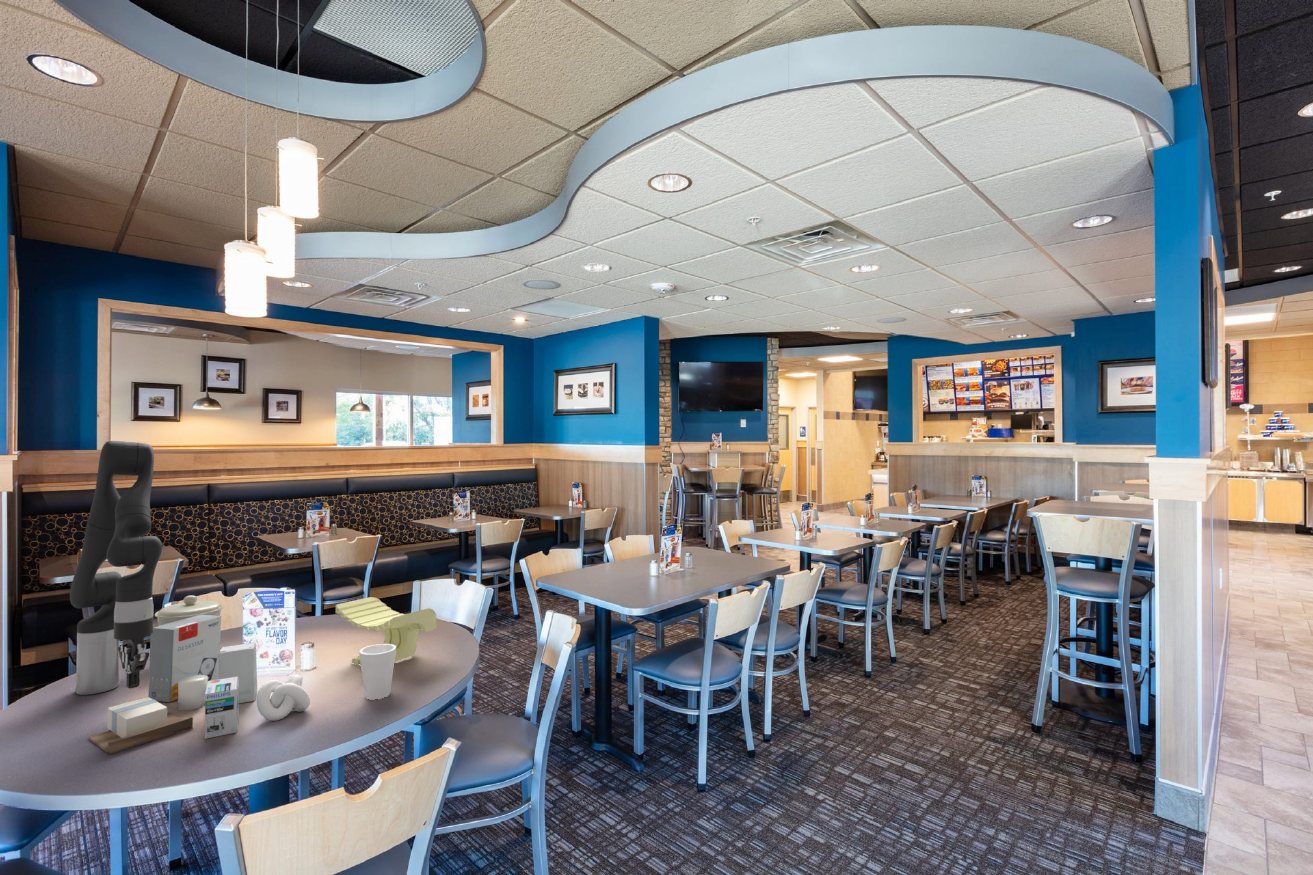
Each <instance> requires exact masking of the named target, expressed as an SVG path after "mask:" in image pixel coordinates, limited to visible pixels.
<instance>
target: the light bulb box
mask: <svg viewBox="0 0 1313 875" xmlns="http://www.w3.org/2000/svg"><path fill="white" fill-rule="evenodd" d="M239 704H240V703H239V677H232V678H225V679H219V680H211V681H208V683H207V687H206V692H205V705H204V740H206V739H211V738H216V737H220V736H225V735H231V734H235V733H238V727H239V726H238V725H239Z"/></svg>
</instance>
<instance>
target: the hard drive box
mask: <svg viewBox="0 0 1313 875" xmlns="http://www.w3.org/2000/svg"><path fill="white" fill-rule="evenodd" d="M221 626H222V615H220V616H214V615H198V616H194V617H190V618H187V619H183V620H179V621H176V622H172V623H168V624H164V625H161V626H158V625H157V626H153V633H152V634H150V635H149V636H150V641H149V645H150V646H149V673H148V676H149V677H148V695H147V697H149V698H151V699H154V700H155V701H157V702H165V703H171V702H173V701H176V700H178V681H179V680H181V679H183V678H186V677H190V676H195V675H206V676H208V681H211V680H219V663H218V654H219V652H220V650H221V631H222V630H221V628H222V627H221Z"/></svg>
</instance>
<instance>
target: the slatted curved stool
mask: <svg viewBox="0 0 1313 875" xmlns="http://www.w3.org/2000/svg"><path fill="white" fill-rule="evenodd" d="M335 614H338V615H340V618H342V619H345V623H346V622H347V623H350V626H351V627H355V628H360V629H363V630H369V631H371V632H381V631H383V633H384V641H383V643H382V644H392V645H395V646H396V656H395V662H396V661H398V660H401V659H403V658H407V657H409V656H412V655H414V656H415V655H416V650H417V646H418V645H417V643H418V636H419V633H420V631H422V632H423V633H428V632H432V631H435V630H437V614H436V611H435V610H434V609H432V608H429V607H428V608H425V609H421V610H416V611H413V612H410V613H406V614H404V613H400V612H398V611H396V610H393V609H392V608H391V607H389V606H387V604H386V603H384V602H382V601H381V600H380V598H377V597H373V596H370V597H365V598H360V599H357V600H352V601H351V600H350V601H346V602H342V603H338V604H335ZM351 662H352V663H354V664H356V665H355V666H360V665H361V663H360V660H359V655H358V656H355V657H352V660H351ZM354 664H353V665H354ZM359 664H360V665H359Z"/></svg>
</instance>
